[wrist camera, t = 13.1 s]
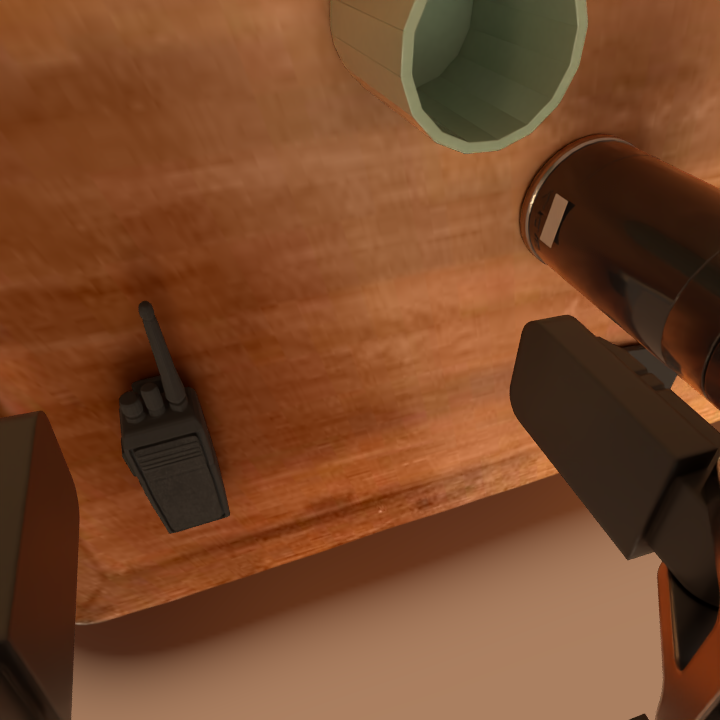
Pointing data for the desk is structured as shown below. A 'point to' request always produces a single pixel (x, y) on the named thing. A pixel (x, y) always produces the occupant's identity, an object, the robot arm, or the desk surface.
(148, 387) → the walkie-talkie
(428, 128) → the pencil cup
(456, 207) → the desk surface
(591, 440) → the robot arm
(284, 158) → the desk surface
